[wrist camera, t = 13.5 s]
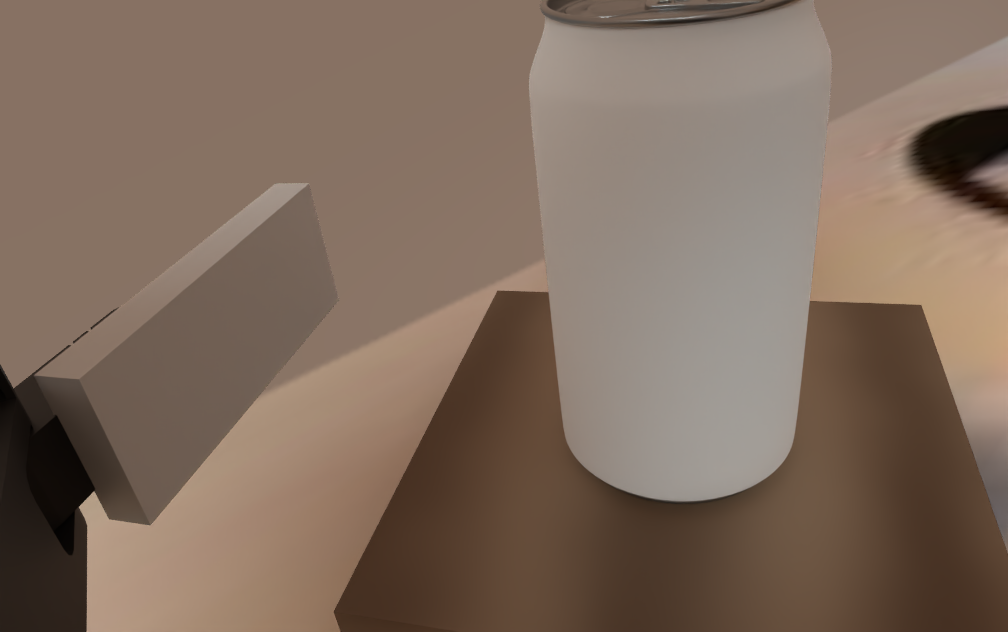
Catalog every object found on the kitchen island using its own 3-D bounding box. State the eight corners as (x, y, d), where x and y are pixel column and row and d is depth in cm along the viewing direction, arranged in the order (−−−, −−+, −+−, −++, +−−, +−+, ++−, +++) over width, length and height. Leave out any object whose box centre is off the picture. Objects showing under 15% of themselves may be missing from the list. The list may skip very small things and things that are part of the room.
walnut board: (907, 376, 28) (921, 304, 26) (1029, 812, 16) (1068, 728, 14) (505, 353, 32) (497, 290, 31) (360, 687, 20) (333, 611, 18)
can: (590, 355, 26) (563, -31, 20) (796, 374, 24) (839, -52, 18) (536, 493, 21) (475, 32, 15) (791, 532, 19) (848, 13, 13)
